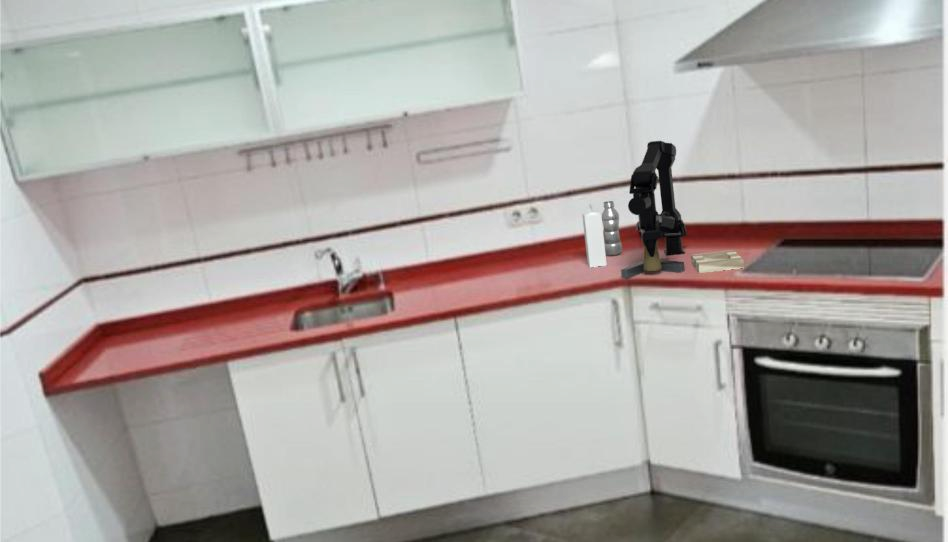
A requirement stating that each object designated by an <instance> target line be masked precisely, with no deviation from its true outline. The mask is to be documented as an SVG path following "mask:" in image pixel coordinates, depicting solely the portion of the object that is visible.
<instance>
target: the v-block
mask: <svg viewBox="0 0 948 542" xmlns="http://www.w3.org/2000/svg"><path fill="white" fill-rule="evenodd" d="M660 261H661V266H662V268H661V269H659V270H658V271H661V272H669V273H679V274H680V273H684V272H685V271H686V269H685V267H686V266H685V261H678V260H676V261H675V260H667V259H660ZM643 265H644V259H641V261H639V262H635V263H634V264H631V265H628V266H625V267H624V268H620V272H621V273H620V274H621V279H626V280H627V279H630V278H633V277H636V276H638V275H641V274H643V273H646V272H647V271H646V270H643ZM640 273H641V274H640ZM635 275H636V276H635Z"/></svg>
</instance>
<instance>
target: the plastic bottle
mask: <svg viewBox="0 0 948 542" xmlns="http://www.w3.org/2000/svg"><path fill="white" fill-rule="evenodd" d="M614 207H615V201H612V200H608V201H604V202H603V209H604V210H603V211H602V213H601V216H602V226H603V235H604V245H605V254H606V256H617V255H620V254H622V251H623V245H622V242H621V237H620V226H619V225H620V214H619V212H618V210H617V209H615V208H614Z"/></svg>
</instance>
